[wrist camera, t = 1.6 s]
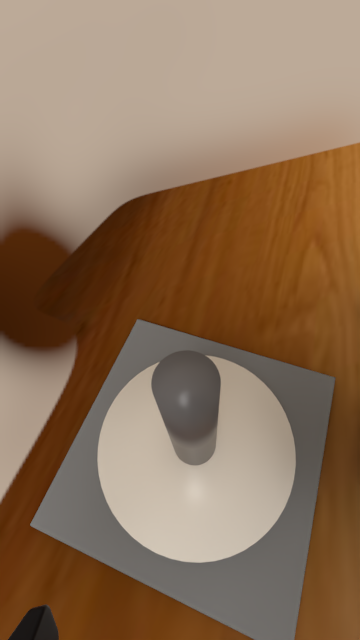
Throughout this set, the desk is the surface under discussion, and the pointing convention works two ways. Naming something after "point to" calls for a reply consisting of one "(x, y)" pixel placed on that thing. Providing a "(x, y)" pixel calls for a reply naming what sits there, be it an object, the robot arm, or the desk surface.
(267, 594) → the mat
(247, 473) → the lid
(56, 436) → the desk surface
